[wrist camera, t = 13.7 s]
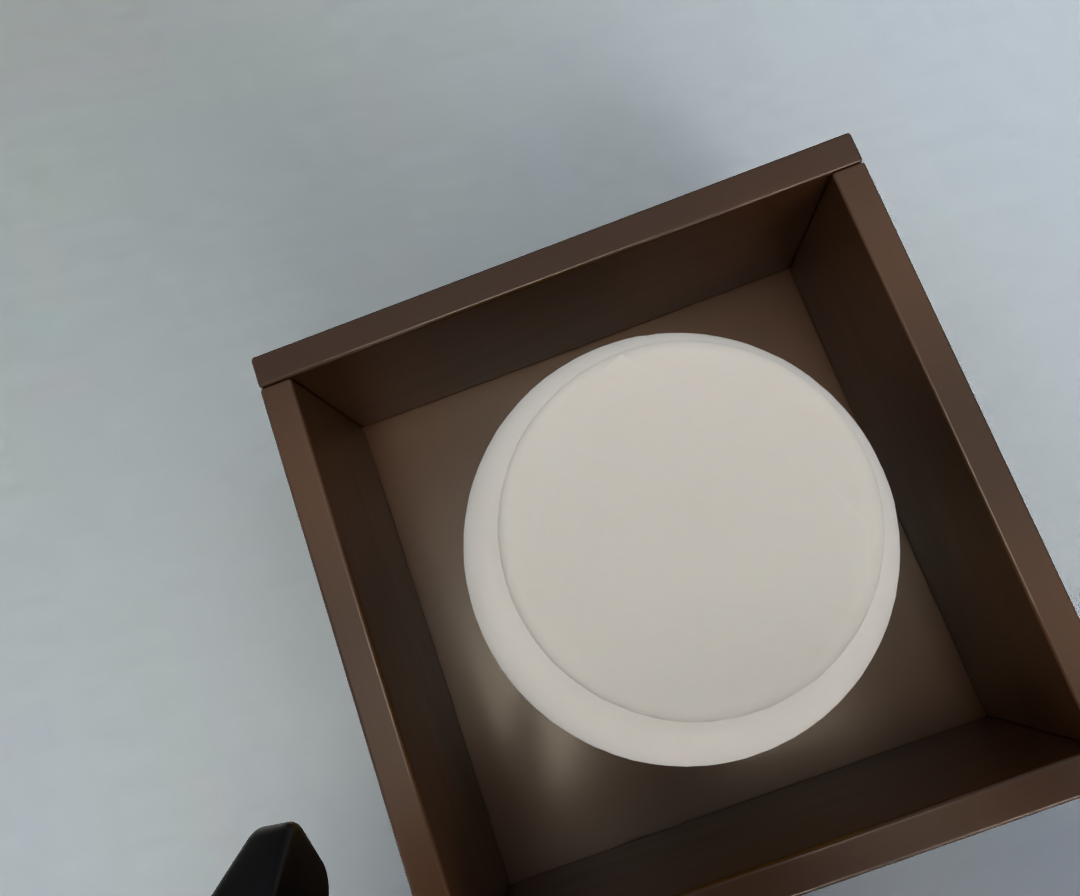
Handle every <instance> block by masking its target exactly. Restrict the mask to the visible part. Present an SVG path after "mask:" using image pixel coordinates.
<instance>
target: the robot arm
mask: <svg viewBox="0 0 1080 896" xmlns="http://www.w3.org/2000/svg"><path fill="white" fill-rule="evenodd" d="M211 896H329V884H328V877H327V872H326V869H325V866H324V864H323V862H322V860H321V859H320V857H319V855H318V854H317V852H316V851H315V849H314V847H313V846H312V844H311V842H310V841H309V839H308V837H307V836H306V834H305V832H304V831H303V829H302V828H301V827H300V825H299V824H297V823H295V822H285V823H280V824H275V825H270V826H264V827H261V828H259V829H257V830H256V831H255V832H254V833H253V834H252V835H251V836H250V837H249V838H248V840H247V841H246V843H245V845H244V846H243V848H242V849H241V851H240V852H239V854H238V855H237V857H236V858H235V860H234V862H233V863H232V865H231V866H230V868H229V869H228V871H227V872H226V874H225V875H224V877H223V879H222V880H221V882H220V883H219V885H218V886H217V888H216V889H215V891H214V892H213V894H212V895H211Z"/></svg>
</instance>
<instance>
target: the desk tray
mask: <svg viewBox="0 0 1080 896" xmlns="http://www.w3.org/2000/svg"><path fill="white" fill-rule="evenodd" d="M861 162H862V158H861V156H860V153H859V151H858V149H857V147H856V145H855V143H854V141H853V139H852V137H851V135H850V134H849V133H847V134H844V135H841V136H839V137H836V138H833V139H831V140H828V141H825V142H823V143H820V144H818V145H815V146H812V147H810V148H807V149H804V150H802V151H799V152H796V153H794V154H791V155H788V156H786V157H783V158H781V159H778V160H775V161H773V162H770V163H767V164H765V165H762V166H759V167H757V168H754V169H751V170H749V171H746V172H744V173H741V174H738V175H736V176H733V177H730V178H728V179H725V180H722V181H720V182H717V183H714V184H712V185H709V186H707V187H704V188H701V189H699V190H696V191H693V192H691V193H688V194H685V195H683V196H680V197H677V198H675V199H672V200H669V201H667V202H664V203H662V204H659V205H656V206H654V207H651V208H648V209H646V210H643V211H640V212H638V213H635V214H632V215H630V216H627V217H625V218H622V219H619V220H617V221H614V222H611V223H609V224H606V225H603V226H601V227H598V228H595V229H593V230H590V231H588V232H585V233H582V234H580V235H577V236H574V237H572V238H569V239H566V240H564V241H561V242H558V243H556V244H553V245H551V246H548V247H545V248H543V249H540V250H537V251H535V252H532V253H529V254H527V255H524V256H521V257H519V258H516V259H514V260H511V261H508V262H506V263H503V264H500V265H498V266H495V267H492V268H490V269H487V270H484V271H482V272H479V273H476V274H474V275H471V276H469V277H466V278H463V279H461V280H458V281H455V282H453V283H450V284H447V285H445V286H442V287H439V288H437V289H434V290H432V291H429V292H426V293H424V294H421V295H418V296H416V297H413V298H410V299H408V300H405V301H402V302H400V303H397V304H395V305H392V306H389V307H387V308H384V309H381V310H379V311H376V312H373V313H371V314H368V315H365V316H363V317H360V318H358V319H355V320H352V321H350V322H347V323H344V324H342V325H339V326H336V327H334V328H331V329H328V330H326V331H323V332H321V333H318V334H315V335H313V336H310V337H307V338H305V339H302V340H299V341H297V342H294V343H291V344H289V345H286V346H284V347H281V348H278V349H276V350H273V351H270V352H268V353H265V354H262V355H260V356H257V357H254V358H253V359H252V364H253V367H254V371H255V374H256V377H257V381H258V384H259V386H260V388H262V390H261V394H262V397H263V400H264V404H265V407H266V410H267V414H268V417H269V420H270V424H271V427H272V430H273V434H274V437H275V440H276V444H277V447H278V450H279V454H280V457H281V460H282V464H283V467H284V470H285V474H286V477H287V480H288V484H289V487H290V490H291V494H292V497H293V500H294V504H295V507H296V510H297V513H298V517H299V520H300V523H301V527H302V530H303V533H304V537H305V540H306V543H307V547H308V550H309V553H310V557H311V560H312V563H313V567H314V570H315V573H316V577H317V580H318V583H319V587H320V590H321V593H322V597H323V600H324V603H325V607H326V610H327V613H328V617H329V620H330V623H331V627H332V630H333V633H334V637H335V640H336V643H337V647H338V650H339V653H340V657H341V660H342V663H343V666H344V670H345V673H346V676H347V680H348V683H349V686H350V690H351V693H352V696H353V700H354V703H355V706H356V710H357V713H358V716H359V720H360V723H361V726H362V730H363V733H364V736H365V740H366V743H367V746H368V750H369V753H370V756H371V760H372V763H373V766H374V770H375V773H376V776H377V780H378V783H379V786H380V790H381V793H382V796H383V800H384V803H385V806H386V810H387V813H388V816H389V819H390V823H391V826H392V829H393V833H394V836H395V839H396V843H397V846H398V849H399V853H400V856H401V859H402V863H403V866H404V869H405V873H406V876H407V879H408V883H409V886H410V889H411V893H412V896H801V895H804V894H807V893H810V892H813V891H816V890H818V889H821V888H824V887H827V886H830V885H833V884H836V883H838V882H841V881H844V880H847V879H850V878H853V877H856V876H858V875H861V874H864V873H867V872H870V871H873V870H876V869H878V868H881V867H884V866H887V865H890V864H893V863H896V862H898V861H901V860H904V859H907V858H910V857H913V856H916V855H918V854H921V853H924V852H927V851H930V850H933V849H936V848H938V847H941V846H944V845H947V844H950V843H953V842H956V841H958V840H961V839H964V838H967V837H970V836H973V835H976V834H978V833H981V832H984V831H987V830H990V829H993V828H996V827H998V826H1001V825H1004V824H1007V823H1010V822H1013V821H1016V820H1018V819H1021V818H1024V817H1027V816H1030V815H1033V814H1036V813H1038V812H1041V811H1044V810H1047V809H1050V808H1053V807H1056V806H1058V805H1061V804H1064V803H1067V802H1070V801H1073V800H1076V799H1078V798H1080V619H1079V617H1078V615H1077V613H1076V611H1075V608H1074V606H1073V604H1072V602H1071V600H1070V598H1069V596H1068V594H1067V592H1066V589H1065V587H1064V585H1063V583H1062V581H1061V579H1060V577H1059V575H1058V572H1057V570H1056V568H1055V566H1054V564H1053V562H1052V560H1051V558H1050V555H1049V553H1048V551H1047V549H1046V547H1045V545H1044V543H1043V541H1042V539H1041V536H1040V534H1039V532H1038V530H1037V528H1036V526H1035V524H1034V522H1033V519H1032V517H1031V515H1030V513H1029V511H1028V509H1027V507H1026V505H1025V503H1024V500H1023V498H1022V496H1021V494H1020V492H1019V490H1018V488H1017V486H1016V483H1015V481H1014V479H1013V477H1012V475H1011V473H1010V471H1009V469H1008V466H1007V464H1006V462H1005V460H1004V458H1003V456H1002V454H1001V452H1000V450H999V447H998V445H997V443H996V441H995V439H994V437H993V435H992V433H991V430H990V428H989V426H988V424H987V422H986V420H985V418H984V416H983V413H982V411H981V409H980V407H979V405H978V403H977V401H976V399H975V397H974V394H973V392H972V390H971V388H970V386H969V384H968V382H967V380H966V377H965V375H964V373H963V371H962V369H961V367H960V365H959V363H958V361H957V358H956V356H955V354H954V352H953V350H952V348H951V346H950V344H949V341H948V339H947V337H946V335H945V333H944V331H943V329H942V327H941V324H940V322H939V320H938V318H937V316H936V314H935V312H934V310H933V308H932V305H931V303H930V301H929V299H928V297H927V295H926V293H925V291H924V288H923V286H922V284H921V282H920V280H919V278H918V276H917V274H916V271H915V269H914V267H913V265H912V263H911V261H910V259H909V257H908V255H907V252H906V250H905V248H904V246H903V244H902V242H901V240H900V238H899V235H898V233H897V231H896V229H895V227H894V225H893V223H892V221H891V218H890V216H889V214H888V212H887V210H886V208H885V206H884V204H883V202H882V199H881V197H880V195H879V193H878V191H877V189H876V187H875V185H874V182H873V180H872V178H871V176H870V174H869V172H868V170H867V168H866V166H865V164H864V163H861ZM661 333H694V334H705V335H711V336H718V337H722V338H727V339H731V340H736V341H739V342H742V343H746V344H749V345H751V346H754V347H756V348H759V349H761V350H764V351H766V352H768V353H770V354H773V355H775V356H777V357H779V358H781V359H783V360H785V361H787V362H789V363H790V364H792V365H794V366H795V367H797V368H798V369H800V370H801V371H803V372H804V373H806V374H807V375H809V376H810V377H811V378H812V379H813V380H815V381H816V382H817V383H818V384H819V385H821V386H822V387H823V388H824V389H826V390H827V391H828V392H829V393H830V394H831V395H832V396H833V397H834V398H835V399H836V400H837V401H838V402H839V403H840V404H841V405H842V406H843V407H844V409H845V410H846V411H847V412H848V413H849V415H850V416H851V417H852V418H853V419H854V421H855V422H856V423H857V425H858V426H859V427H860V429H861V430H862V432H863V433H864V435H865V436H866V438H867V440H868V441H869V443H870V444H871V446H872V448H873V450H874V452H875V454H876V456H877V458H878V460H879V462H880V464H881V466H882V468H883V471H884V473H885V476H886V479H887V481H888V484H889V486H890V489H891V492H892V496H893V499H894V502H895V509H896V515H897V521H898V528H899V538H900V568H899V578H898V584H897V591H896V598H895V601H894V605H893V609H892V613H891V616H890V620H889V623H888V626H887V628H886V631H885V633H884V636H883V638H882V640H881V643H880V645H879V647H878V648H877V650H876V652H875V654H874V656H873V658H872V660H871V661H870V663H869V665H868V666H867V668H866V670H865V671H864V673H863V674H862V676H861V677H860V679H859V680H858V681H857V682H856V684H855V685H854V686H853V687H852V689H851V690H850V691H849V692H848V693H847V694H846V696H845V697H844V698H843V699H842V700H841V701H840V702H839V703H838V704H837V705H836V706H835V707H834V708H833V709H832V710H831V711H830V712H829V713H827V714H826V715H825V716H824V717H823V718H822V719H820V720H819V721H818V722H816V723H815V724H814V725H812V726H811V727H810V728H808V729H807V730H805V731H804V732H802V733H801V734H799V735H797V736H796V737H794V738H792V739H790V740H788V741H786V742H784V743H782V744H780V745H778V746H776V747H774V748H772V749H770V750H767V751H765V752H762V753H759V754H756V755H754V756H751V757H748V758H745V759H741V760H737V761H732V762H728V763H722V764H716V765H708V766H689V767H685V766H665V765H656V764H650V763H644V762H639V761H633V760H630V759H627V758H623V757H620V756H617V755H614V754H611V753H609V752H606V751H604V750H601V749H599V748H596V747H594V746H592V745H589V744H587V743H585V742H584V741H582V740H580V739H578V738H577V737H575V736H573V735H571V734H570V733H568V732H567V731H565V730H564V729H562V728H561V727H559V726H558V725H556V724H554V723H553V722H552V721H550V720H549V719H548V718H547V717H546V716H544V715H543V714H542V713H541V712H539V711H538V710H537V709H536V708H535V707H534V706H533V705H532V704H531V703H530V702H528V701H527V700H526V698H525V697H524V696H523V695H522V694H521V693H520V692H519V691H518V690H517V689H516V687H515V686H514V685H513V684H512V683H511V681H510V680H509V679H508V677H507V676H506V675H505V673H504V672H503V670H502V669H501V668H500V666H499V664H498V663H497V661H496V659H495V658H494V656H493V654H492V653H491V651H490V649H489V647H488V645H487V643H486V641H485V639H484V637H483V635H482V632H481V630H480V627H479V625H478V622H477V619H476V617H475V614H474V611H473V607H472V604H471V600H470V596H469V591H468V587H467V582H466V576H465V569H464V525H465V516H466V510H467V505H468V499H469V495H470V491H471V487H472V484H473V480H474V478H475V475H476V472H477V470H478V467H479V465H480V462H481V460H482V458H483V456H484V454H485V452H486V449H487V447H488V446H489V444H490V442H491V440H492V438H493V437H494V435H495V433H496V431H497V430H498V428H499V427H500V425H501V424H502V423H503V421H504V420H505V419H506V418H507V416H508V415H509V414H510V412H511V411H512V410H513V409H514V408H515V406H516V405H517V404H518V403H519V402H520V401H521V400H522V399H523V398H524V397H525V396H526V395H527V394H528V393H529V392H530V391H531V390H532V389H533V388H534V387H535V386H536V385H537V384H539V383H540V382H541V381H542V380H543V379H544V378H546V377H547V376H549V375H550V374H552V373H553V372H555V371H556V370H557V369H559V368H560V367H562V366H564V365H565V364H567V363H569V362H570V361H572V360H574V359H576V358H577V357H579V356H581V355H584V354H586V353H588V352H590V351H592V350H595V349H597V348H599V347H602V346H605V345H608V344H611V343H614V342H617V341H621V340H624V339H628V338H632V337H637V336H648V335H653V334H661Z"/></svg>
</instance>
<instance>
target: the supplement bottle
mask: <svg viewBox="0 0 1080 896" xmlns="http://www.w3.org/2000/svg"><path fill="white" fill-rule="evenodd" d="M899 568H900V538H899V528H898V521H897V515H896V509H895V502H894V499H893V496H892V492H891V489H890V486H889V484H888V481H887V479H886V476H885V473H884V471H883V468H882V466H881V464H880V462H879V460H878V458H877V456H876V454H875V452H874V450H873V448H872V446H871V444H870V443H869V441H868V440H867V438H866V436H865V435H864V433H863V432H862V430H861V429H860V427H859V426H858V425H857V423H856V422H855V421H854V419H853V418H852V417H851V416H850V415H849V413H848V412H847V411H846V410H845V409H844V407H843V406H842V405H841V404H840V403H839V402H838V401H837V400H836V399H835V398H834V397H833V396H832V395H831V394H830V393H829V392H828V391H827V390H826V389H824V388H823V387H822V386H821V385H819V384H818V383H817V382H816V381H815V380H813V379H812V378H811V377H810V376H809V375H807V374H806V373H804V372H803V371H801V370H800V369H798V368H797V367H795V366H794V365H792V364H790V363H789V362H787V361H785V360H783V359H781V358H779V357H777V356H775V355H773V354H770V353H768V352H766V351H764V350H761V349H759V348H756V347H754V346H751V345H749V344H746V343H742V342H739V341H736V340H731V339H727V338H722V337H718V336H711V335H705V334H694V333H661V334H653V335H648V336H637V337H632V338H628V339H624V340H621V341H617V342H614V343H611V344H608V345H605V346H602V347H599V348H597V349H595V350H592V351H590V352H588V353H586V354H584V355H581V356H579V357H577V358H576V359H574V360H572V361H570V362H569V363H567V364H565V365H564V366H562V367H560V368H559V369H557V370H556V371H555V372H553V373H552V374H550V375H549V376H547V377H546V378H544V379H543V380H542V381H541V382H540V383H539V384H537V385H536V386H535V387H534V388H533V389H532V390H531V391H530V392H529V393H528V394H527V395H526V396H525V397H524V398H523V399H522V400H521V401H520V402H519V403H518V404H517V405H516V406H515V408H514V409H513V410H512V411H511V412H510V414H509V415H508V416H507V418H506V419H505V420H504V421H503V423H502V424H501V425H500V427H499V428H498V430H497V431H496V433H495V435H494V437H493V438H492V440H491V442H490V444H489V446H488V447H487V449H486V452H485V454H484V456H483V458H482V460H481V462H480V465H479V467H478V470H477V472H476V475H475V478H474V480H473V484H472V487H471V491H470V495H469V499H468V505H467V510H466V516H465V525H464V569H465V576H466V582H467V587H468V591H469V596H470V600H471V604H472V607H473V611H474V614H475V617H476V619H477V622H478V625H479V627H480V630H481V632H482V635H483V637H484V639H485V641H486V643H487V645H488V647H489V649H490V651H491V653H492V654H493V656H494V658H495V659H496V661H497V663H498V664H499V666H500V668H501V669H502V670H503V672H504V673H505V675H506V676H507V677H508V679H509V680H510V681H511V683H512V684H513V685H514V686H515V687H516V689H517V690H518V691H519V692H520V693H521V694H522V695H523V696H524V697H525V698H526V700H527V701H528V702H530V703H531V704H532V705H533V706H534V707H535V708H536V709H537V710H538V711H539V712H541V713H542V714H543V715H544V716H546V717H547V718H548V719H549V720H550V721H552V722H553V723H554V724H556V725H558V726H559V727H561V728H562V729H564V730H565V731H567V732H568V733H570V734H571V735H573V736H575V737H577V738H578V739H580V740H582V741H584V742H585V743H587V744H589V745H592V746H594V747H596V748H599V749H601V750H604V751H606V752H609V753H611V754H614V755H617V756H620V757H623V758H627V759H630V760H633V761H639V762H644V763H650V764H656V765H665V766H685V767H689V766H708V765H716V764H722V763H728V762H732V761H737V760H741V759H745V758H748V757H751V756H754V755H756V754H759V753H762V752H765V751H767V750H770V749H772V748H774V747H776V746H778V745H780V744H782V743H784V742H786V741H788V740H790V739H792V738H794V737H796V736H797V735H799V734H801V733H802V732H804V731H805V730H807V729H808V728H810V727H811V726H812V725H814V724H815V723H816V722H818V721H819V720H820V719H822V718H823V717H824V716H825V715H826V714H827V713H829V712H830V711H831V710H832V709H833V708H834V707H835V706H836V705H837V704H838V703H839V702H840V701H841V700H842V699H843V698H844V697H845V696H846V694H847V693H848V692H849V691H850V690H851V689H852V687H853V686H854V685H855V684H856V682H857V681H858V680H859V679H860V677H861V676H862V674H863V673H864V671H865V670H866V668H867V666H868V665H869V663H870V661H871V660H872V658H873V656H874V654H875V652H876V650H877V648H878V647H879V645H880V643H881V640H882V638H883V636H884V633H885V631H886V628H887V626H888V623H889V620H890V616H891V613H892V609H893V605H894V601H895V598H896V591H897V584H898V578H899Z"/></svg>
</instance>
